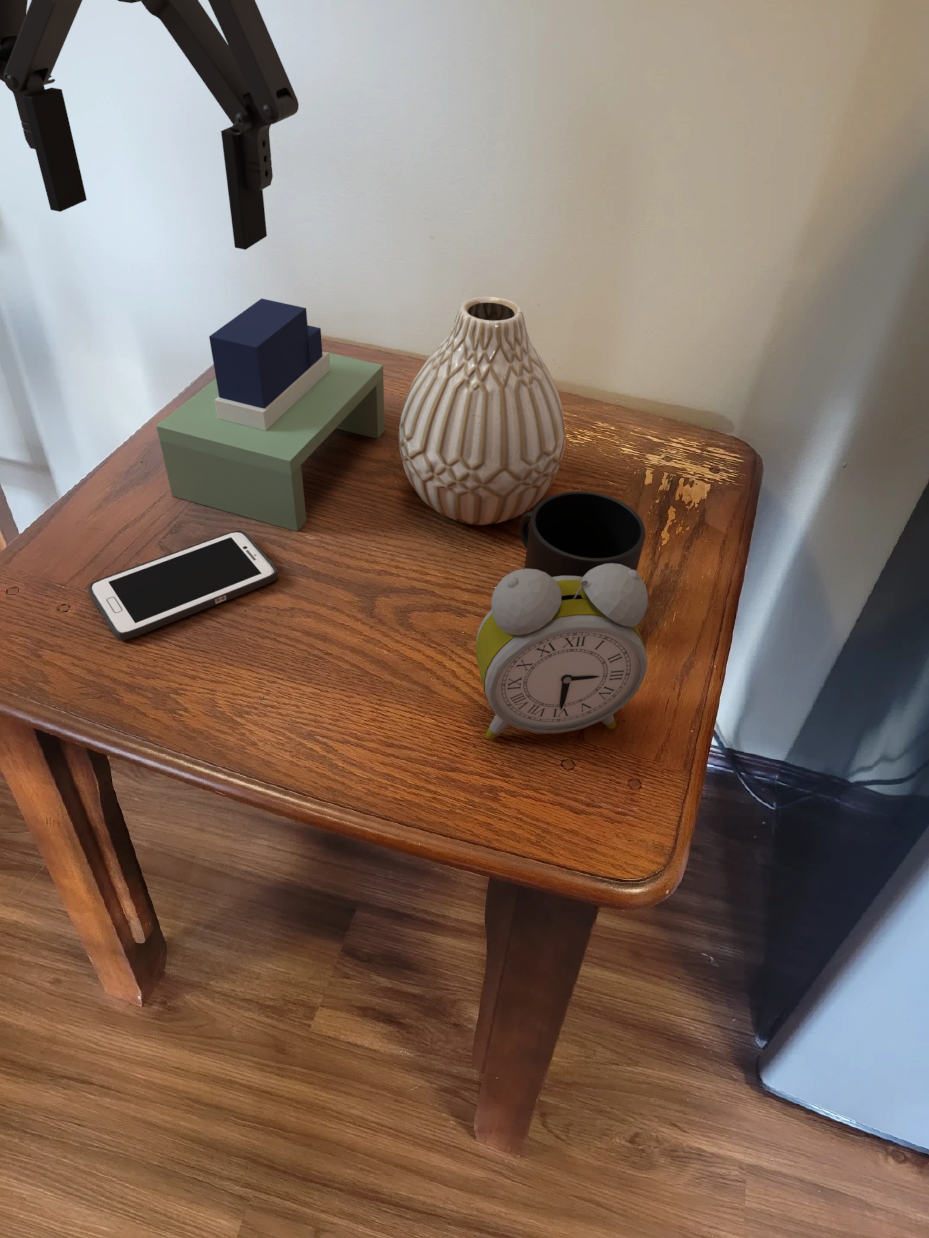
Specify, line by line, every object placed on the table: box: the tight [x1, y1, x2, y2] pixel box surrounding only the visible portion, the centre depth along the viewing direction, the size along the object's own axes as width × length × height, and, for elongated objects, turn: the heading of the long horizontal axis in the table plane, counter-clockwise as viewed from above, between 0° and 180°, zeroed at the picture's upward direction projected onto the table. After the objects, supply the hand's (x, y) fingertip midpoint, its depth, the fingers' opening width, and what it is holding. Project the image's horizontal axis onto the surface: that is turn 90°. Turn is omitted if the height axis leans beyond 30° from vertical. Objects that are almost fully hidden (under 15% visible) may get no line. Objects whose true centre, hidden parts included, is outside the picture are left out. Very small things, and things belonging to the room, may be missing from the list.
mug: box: [518, 490, 646, 577], centre depth 73 cm, size 9×12×9 cm
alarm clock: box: [475, 563, 649, 741], centre depth 61 cm, size 12×7×15 cm, turn 99°
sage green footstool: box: [155, 350, 385, 532], centre depth 87 cm, size 14×20×8 cm
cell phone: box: [87, 529, 279, 641], centre depth 74 cm, size 8×15×1 cm, turn 127°
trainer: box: [208, 298, 330, 431], centre depth 81 cm, size 13×5×8 cm, turn 159°
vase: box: [397, 295, 567, 526], centre depth 79 cm, size 16×16×20 cm
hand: (158, 223), depth 55 cm, fingers open, 13 cm apart
